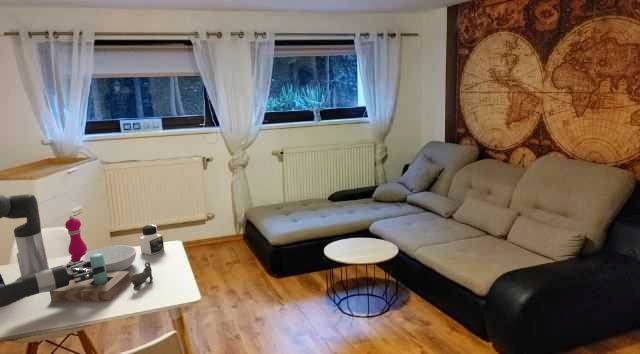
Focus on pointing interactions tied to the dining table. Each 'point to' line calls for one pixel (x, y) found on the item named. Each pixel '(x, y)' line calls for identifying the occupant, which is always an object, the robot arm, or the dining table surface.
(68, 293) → the socket board
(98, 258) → the pin
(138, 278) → the dog figurine
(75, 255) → the pepper mill
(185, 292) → the dining table surface
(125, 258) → the serving bowl
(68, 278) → the robot arm
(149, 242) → the medicine bottle
